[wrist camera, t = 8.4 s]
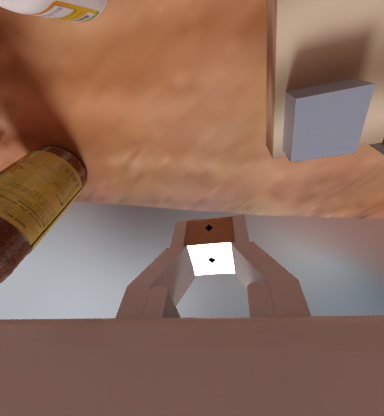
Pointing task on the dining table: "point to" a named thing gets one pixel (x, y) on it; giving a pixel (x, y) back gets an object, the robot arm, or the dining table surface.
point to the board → (323, 56)
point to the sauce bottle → (35, 200)
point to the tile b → (325, 119)
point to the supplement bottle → (58, 8)
